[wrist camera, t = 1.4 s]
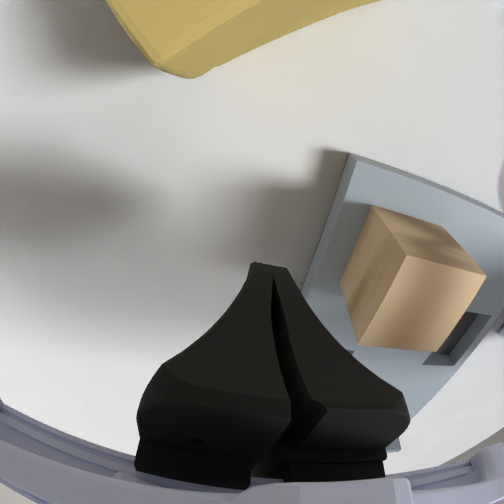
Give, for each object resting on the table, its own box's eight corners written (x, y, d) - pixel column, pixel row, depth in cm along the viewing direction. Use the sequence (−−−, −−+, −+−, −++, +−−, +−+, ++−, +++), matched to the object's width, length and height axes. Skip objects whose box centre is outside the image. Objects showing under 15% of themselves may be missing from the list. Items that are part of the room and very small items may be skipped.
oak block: (442, 226, 16) (486, 276, 12) (408, 294, 18) (436, 352, 14) (370, 204, 15) (406, 254, 11) (339, 281, 18) (357, 344, 14)
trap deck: (532, 228, 17) (561, 255, 14) (391, 423, 30) (398, 451, 27) (349, 152, 16) (372, 175, 12) (248, 416, 29) (246, 450, 25)
